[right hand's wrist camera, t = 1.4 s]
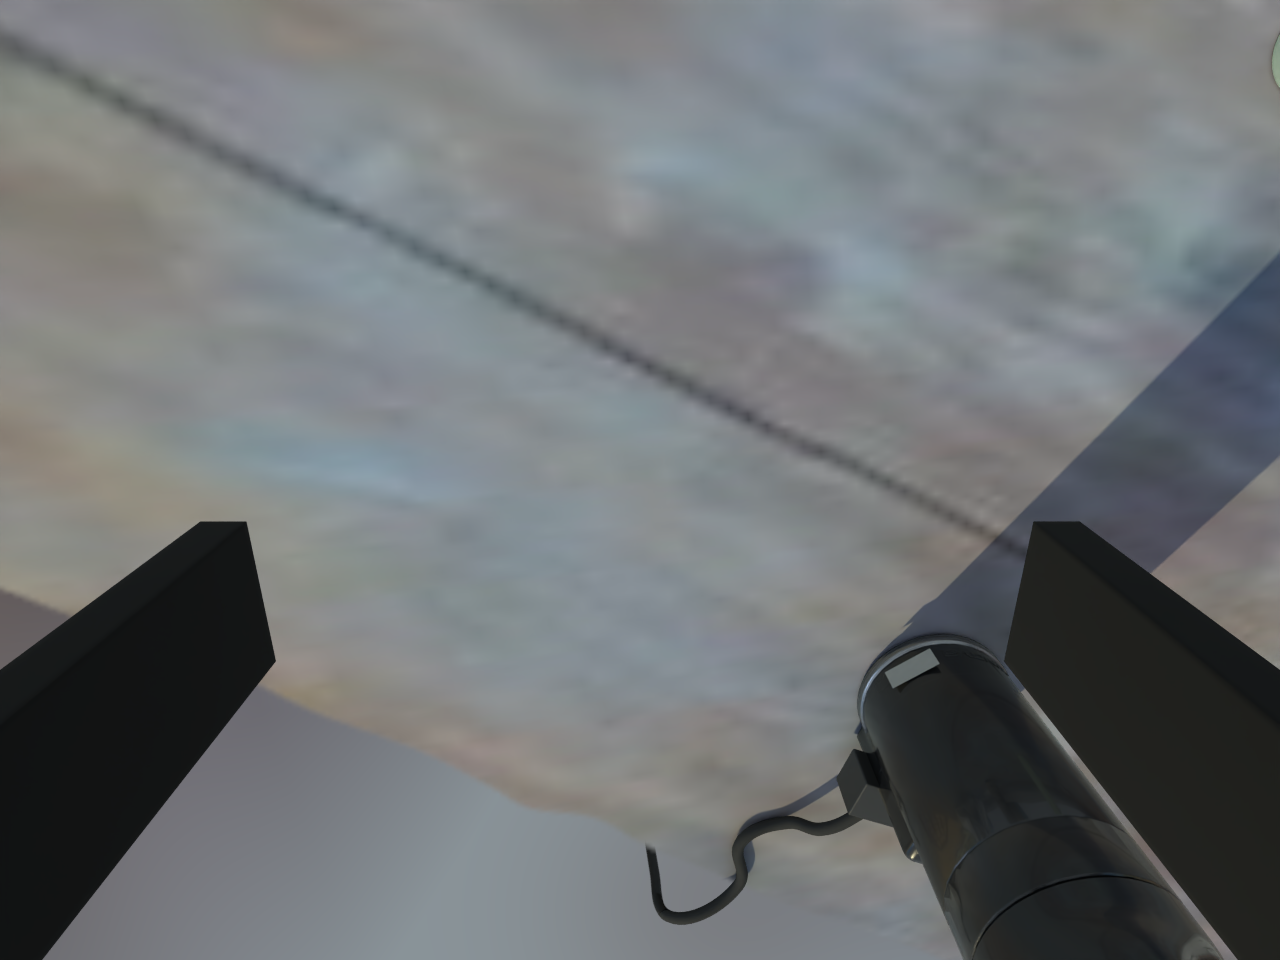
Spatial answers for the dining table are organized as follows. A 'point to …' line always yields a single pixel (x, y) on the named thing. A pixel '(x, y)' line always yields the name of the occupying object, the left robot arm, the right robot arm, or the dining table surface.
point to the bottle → (1276, 61)
